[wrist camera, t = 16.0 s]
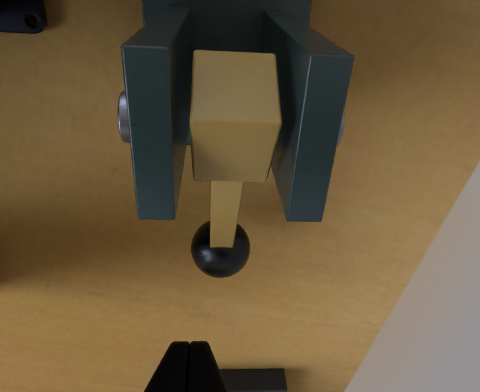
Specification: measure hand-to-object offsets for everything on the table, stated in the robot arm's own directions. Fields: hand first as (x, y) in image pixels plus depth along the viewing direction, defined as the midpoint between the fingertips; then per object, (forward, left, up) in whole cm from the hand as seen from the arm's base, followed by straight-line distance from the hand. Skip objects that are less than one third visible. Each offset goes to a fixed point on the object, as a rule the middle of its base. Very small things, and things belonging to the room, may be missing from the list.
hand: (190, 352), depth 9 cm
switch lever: (+1, 0, -8) cm, 8 cm away
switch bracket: (+1, +4, -13) cm, 14 cm away
